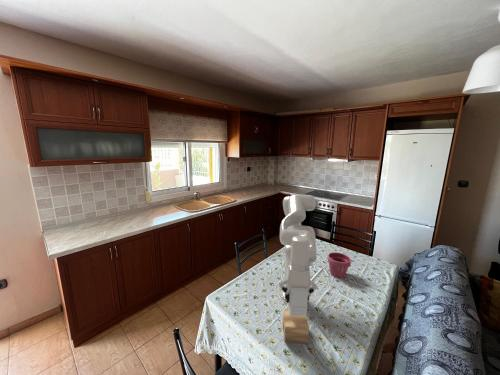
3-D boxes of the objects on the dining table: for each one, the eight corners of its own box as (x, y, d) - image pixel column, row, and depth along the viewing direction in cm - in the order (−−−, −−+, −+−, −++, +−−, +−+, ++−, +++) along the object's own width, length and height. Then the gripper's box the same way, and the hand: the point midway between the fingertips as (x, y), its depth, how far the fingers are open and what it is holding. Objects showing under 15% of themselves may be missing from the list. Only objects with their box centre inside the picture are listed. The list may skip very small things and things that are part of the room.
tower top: (283, 316, 100) (283, 309, 99) (304, 318, 99) (305, 311, 98) (284, 334, 90) (285, 326, 89) (308, 337, 89) (309, 329, 88)
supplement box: (302, 303, 97) (303, 279, 94) (306, 316, 89) (308, 290, 87) (286, 303, 96) (287, 279, 94) (289, 316, 89) (291, 290, 87)
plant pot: (344, 269, 147) (346, 252, 144) (352, 281, 133) (354, 263, 130) (324, 267, 148) (325, 251, 146) (329, 280, 134) (331, 262, 132)
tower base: (282, 323, 100) (282, 316, 100) (303, 325, 100) (304, 318, 99) (284, 342, 91) (285, 335, 90) (307, 344, 90) (308, 336, 89)
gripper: (317, 261, 92) (314, 296, 95) (278, 259, 93) (276, 294, 96) (322, 270, 85) (318, 308, 88) (279, 268, 86) (277, 306, 89)
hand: (296, 300), depth 92 cm, fingers closed on supplement box, 7 cm apart
